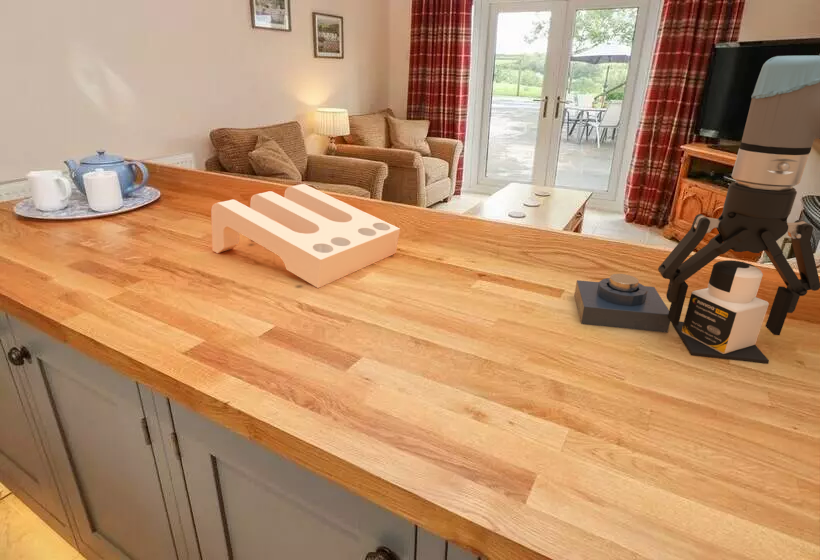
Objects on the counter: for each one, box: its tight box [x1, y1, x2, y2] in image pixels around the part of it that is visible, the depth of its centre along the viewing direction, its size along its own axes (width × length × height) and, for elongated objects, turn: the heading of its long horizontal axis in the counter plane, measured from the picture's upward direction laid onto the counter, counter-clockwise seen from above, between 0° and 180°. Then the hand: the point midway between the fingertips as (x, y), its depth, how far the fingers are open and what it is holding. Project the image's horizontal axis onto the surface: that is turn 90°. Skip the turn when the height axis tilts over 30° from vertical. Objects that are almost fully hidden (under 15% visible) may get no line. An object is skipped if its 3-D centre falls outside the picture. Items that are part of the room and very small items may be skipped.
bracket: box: [210, 183, 401, 289], centre depth 107 cm, size 24×12×32 cm
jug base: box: [574, 277, 671, 334], centre depth 82 cm, size 13×11×5 cm
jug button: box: [608, 273, 640, 293], centre depth 81 cm, size 4×4×2 cm
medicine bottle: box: [682, 259, 770, 354], centre depth 72 cm, size 7×7×12 cm
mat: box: [672, 320, 770, 365], centre depth 74 cm, size 10×10×1 cm
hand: (721, 326), depth 73 cm, fingers open, 13 cm apart
